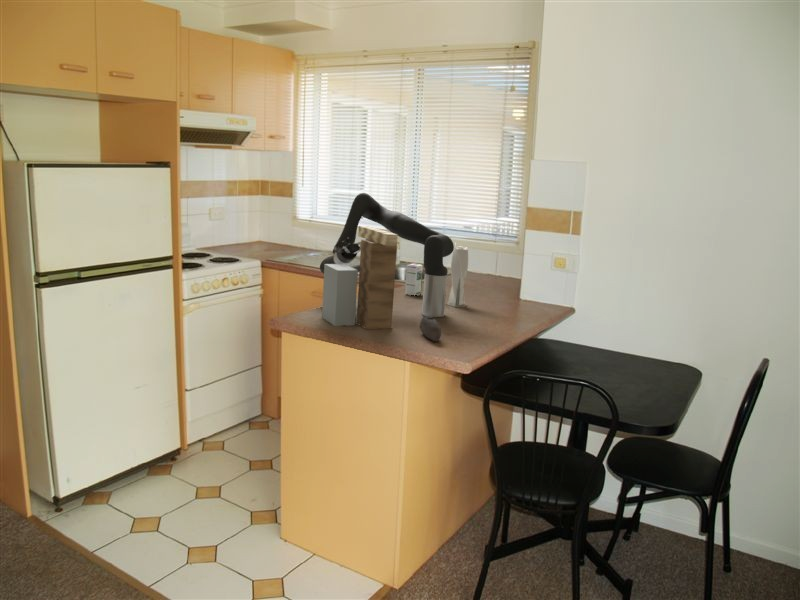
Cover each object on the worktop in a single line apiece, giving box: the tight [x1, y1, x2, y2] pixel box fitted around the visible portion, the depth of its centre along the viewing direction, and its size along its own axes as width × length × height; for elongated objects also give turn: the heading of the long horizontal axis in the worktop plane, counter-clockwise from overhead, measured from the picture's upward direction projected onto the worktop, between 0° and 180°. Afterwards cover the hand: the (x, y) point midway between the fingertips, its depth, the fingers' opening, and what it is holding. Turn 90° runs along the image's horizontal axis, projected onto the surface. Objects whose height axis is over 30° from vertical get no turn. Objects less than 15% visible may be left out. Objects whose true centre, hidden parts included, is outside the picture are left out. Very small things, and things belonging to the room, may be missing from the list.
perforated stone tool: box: [419, 315, 442, 342], centre depth 241 cm, size 15×5×7 cm, turn 14°
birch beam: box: [357, 225, 399, 247], centre depth 249 cm, size 26×4×4 cm, turn 26°
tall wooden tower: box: [356, 239, 398, 330], centre depth 251 cm, size 10×10×32 cm
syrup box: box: [404, 263, 424, 297], centre depth 317 cm, size 6×6×14 cm
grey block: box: [321, 264, 359, 327], centre depth 255 cm, size 14×8×21 cm, turn 26°
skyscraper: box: [445, 241, 469, 309], centre depth 299 cm, size 8×8×28 cm
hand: (359, 240), depth 265 cm, fingers open, 8 cm apart
